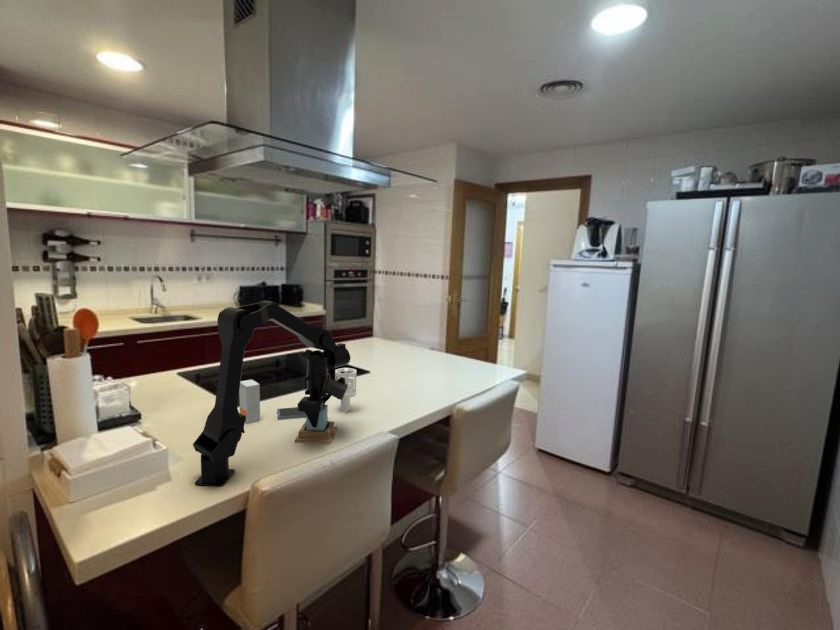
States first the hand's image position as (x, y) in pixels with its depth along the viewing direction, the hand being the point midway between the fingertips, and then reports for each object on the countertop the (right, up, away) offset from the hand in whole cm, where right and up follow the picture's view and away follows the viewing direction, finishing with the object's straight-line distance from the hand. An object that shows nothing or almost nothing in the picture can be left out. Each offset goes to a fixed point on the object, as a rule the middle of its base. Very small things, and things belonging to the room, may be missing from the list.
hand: (316, 423), depth 119 cm
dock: (0, -4, +1) cm, 4 cm away
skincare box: (-24, -1, +10) cm, 26 cm away
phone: (-10, -1, +16) cm, 19 cm away
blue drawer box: (0, -1, 0) cm, 1 cm away
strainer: (+4, -1, +21) cm, 21 cm away
